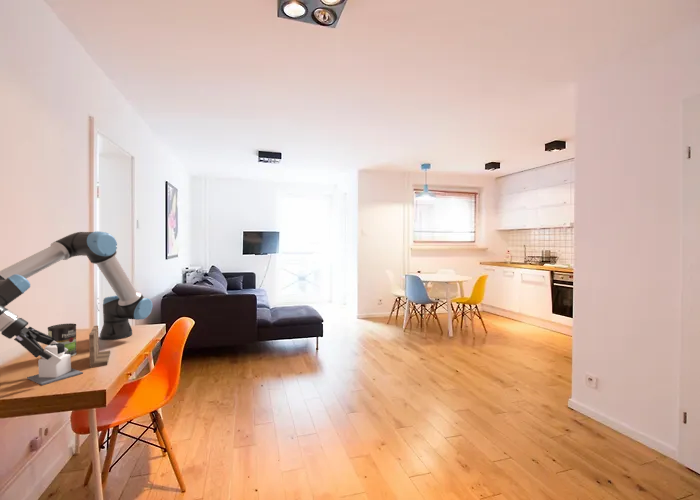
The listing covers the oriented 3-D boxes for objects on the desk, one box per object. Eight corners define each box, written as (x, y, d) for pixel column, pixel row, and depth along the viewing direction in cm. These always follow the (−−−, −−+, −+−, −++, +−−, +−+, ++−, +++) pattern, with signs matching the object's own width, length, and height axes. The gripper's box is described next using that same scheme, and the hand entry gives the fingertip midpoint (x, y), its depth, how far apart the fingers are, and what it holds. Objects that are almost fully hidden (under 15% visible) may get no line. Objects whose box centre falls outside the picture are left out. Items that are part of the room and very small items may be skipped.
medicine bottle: (54, 371, 141) (53, 341, 140) (71, 371, 140) (70, 341, 140) (38, 377, 134) (37, 347, 133) (56, 378, 133) (55, 347, 133)
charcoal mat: (67, 367, 146) (67, 366, 146) (82, 373, 139) (82, 372, 139) (27, 378, 134) (27, 377, 134) (42, 385, 128) (42, 383, 128)
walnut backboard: (94, 355, 161) (94, 325, 161) (110, 353, 165) (109, 324, 164) (89, 367, 146) (89, 334, 146) (107, 364, 149) (106, 332, 149)
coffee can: (82, 352, 165) (81, 323, 165) (60, 360, 155) (59, 329, 155) (65, 351, 167) (64, 322, 167) (42, 358, 157) (41, 328, 157)
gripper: (10, 325, 139) (59, 356, 147) (-13, 341, 118) (46, 375, 126) (28, 311, 142) (75, 341, 150) (8, 323, 120) (64, 358, 128)
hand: (62, 357), depth 138 cm, fingers open, 13 cm apart
